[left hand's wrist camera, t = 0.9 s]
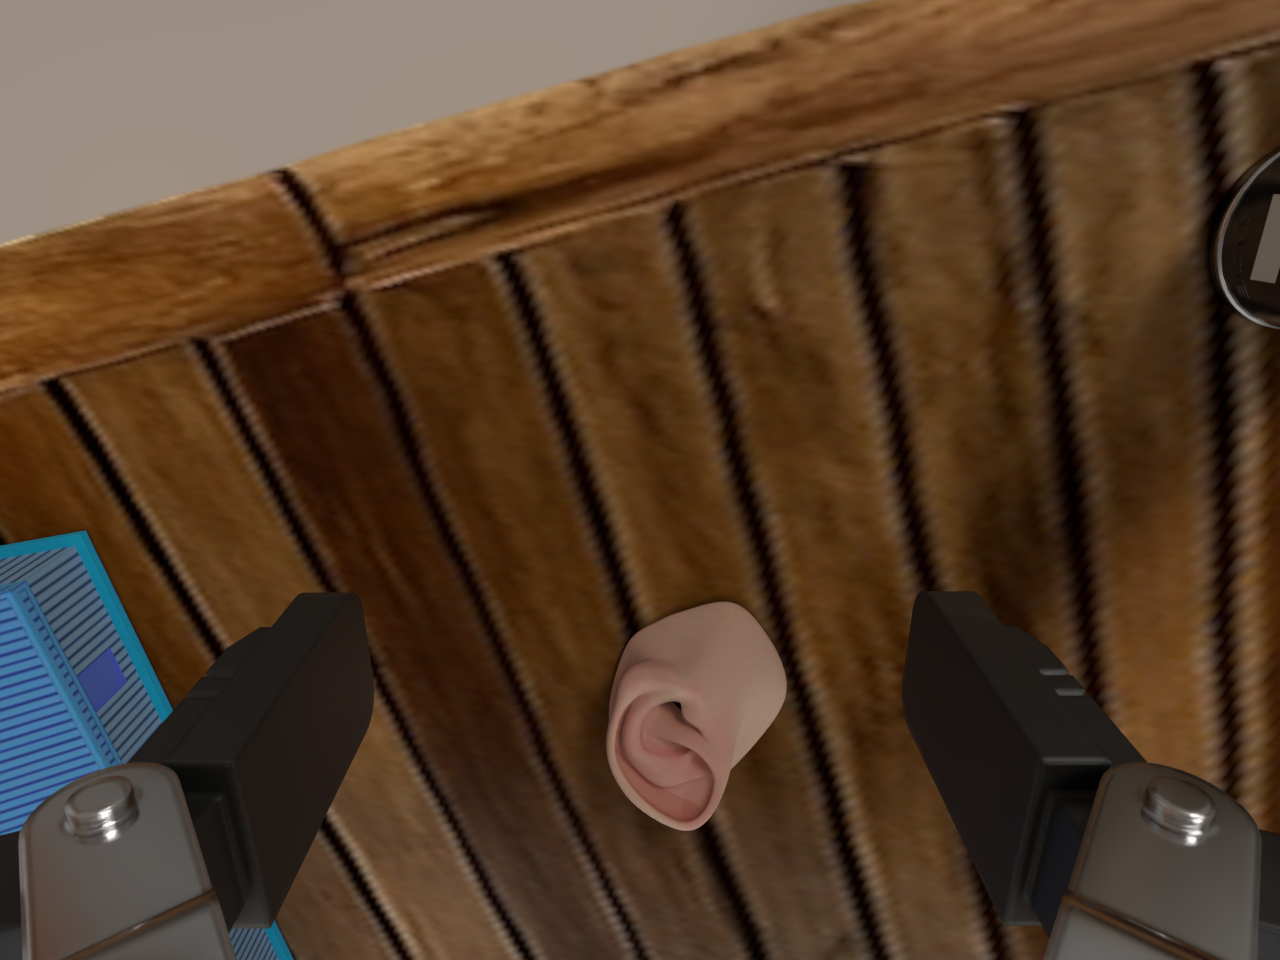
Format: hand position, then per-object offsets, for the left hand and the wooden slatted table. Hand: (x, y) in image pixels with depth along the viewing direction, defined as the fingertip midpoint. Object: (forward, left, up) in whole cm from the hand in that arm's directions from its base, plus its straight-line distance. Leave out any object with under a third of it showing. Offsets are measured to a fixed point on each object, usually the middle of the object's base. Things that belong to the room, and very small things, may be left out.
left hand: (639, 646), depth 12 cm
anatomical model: (+2, +24, -32) cm, 40 cm away
